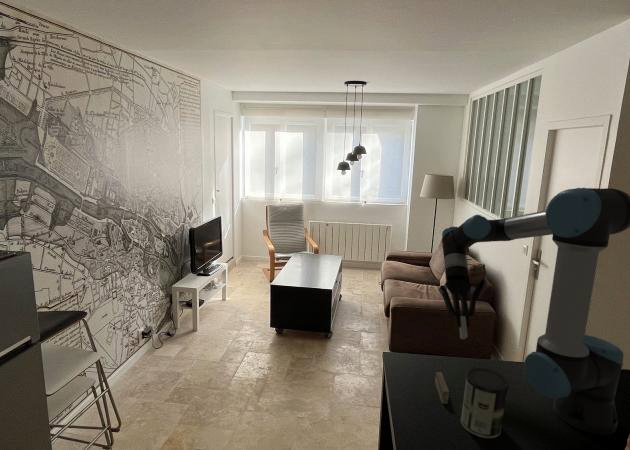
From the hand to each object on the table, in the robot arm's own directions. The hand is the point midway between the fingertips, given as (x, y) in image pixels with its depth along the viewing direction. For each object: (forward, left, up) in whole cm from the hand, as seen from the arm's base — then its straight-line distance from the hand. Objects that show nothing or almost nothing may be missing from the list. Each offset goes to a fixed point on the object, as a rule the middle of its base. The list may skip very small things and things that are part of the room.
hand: (464, 337), depth 126 cm
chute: (0, +7, -15) cm, 17 cm away
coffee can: (-1, +20, -15) cm, 25 cm away
